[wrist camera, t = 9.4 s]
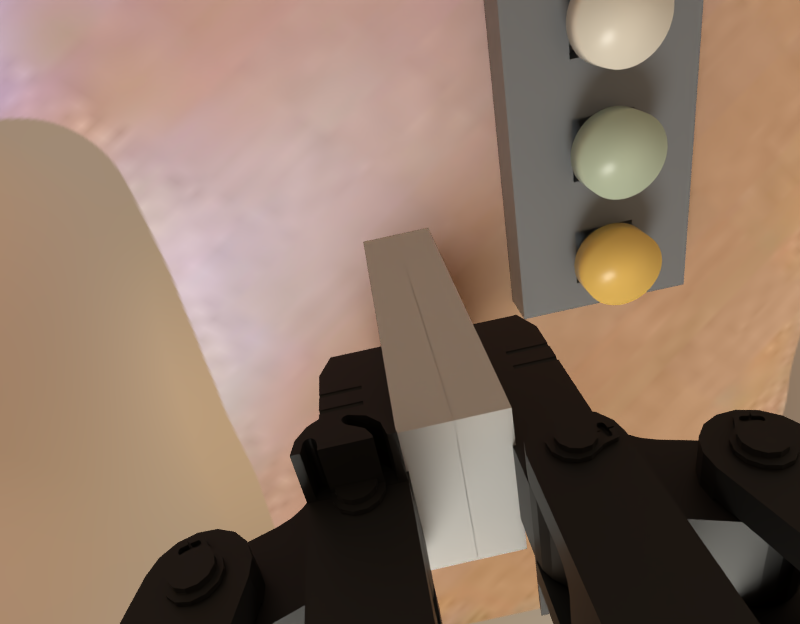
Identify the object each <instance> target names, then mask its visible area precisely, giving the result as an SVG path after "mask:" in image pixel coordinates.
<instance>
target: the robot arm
mask: <svg viewBox="0 0 800 624" xmlns="http://www.w3.org/2000/svg"><path fill="white" fill-rule="evenodd" d="M363 243H364V249H365V255H366V260H367V266H368V272H369V278H370V284H371V290H372V295H373V301H374V307H375V313H376V319H377V325H378V331H379V336H380V342H381V347H377V348H372V349H368V350H363V351H359V352H354V353H349V354H345V355H340V356H336V357H331V358H330V359H329V361H328V363H327V364H326V366H325V368H324V369H323V371H322V373H321V374H320V376H319V396H320V399H319V412H320V415H319V419H318V420H317V421H315V422H314V423H312V424H311V425H309V426H308V427H306V428H305V430H304V431H303V432H302V433H301V434H300V435H299V437H298V438H297V439H296V440H295V442H294V445H293V448H292V451H291V454H290V458H291V461H292V463H293V466H294V469H295V472H296V474H297V477H298V480H299V482H300V485H301V488H302V490H303V493H304V496H305V498H306V501H307V503H306V505H305V506H304V507H303V509H301V510H300V511H299V512H298V513H297V514H296V515H295V516H294V517H292V518H291V519H290V520H288V521H287V522H285V523H283V524H282V525H280V526H278V527H277V528H275V529H273V530H271V531H269V532H267V533H265V534H263V535H261V536H259V537H257V538H255V539H253V540H251V541H249V542H247V541H246V540H245V539H243V538H242V537H241V536H240V535H238V534H237V533H236V532H232V531H226V530H220V529H215V530H210V531H205V532H200V533H197V534H195V535H193V536H191V537H188V538H187V539H184V540H182V541H180V542H178V543H177V544H176V545H174V546H173V547H172V548H171V549H170V550H168V551H167V552H166V553H165V554H163V555H162V556H161V557H160V558H159V559H158V560H157V562H156V563H155V564H154V566H153V567H152V569H151V570H150V571H149V572H148V574H147V575H146V577H145V578H144V580H143V582H142V584H141V586H140V588H139V589H138V591H137V593H136V595H135V597H134V598H133V601H132V602H131V604H130V606H129V608H128V609H127V611H126V613H125V615H124V617H123V619H122V621H121V622H120V624H442V620H441V615H440V609H439V605H438V600H437V596H436V592H435V588H434V584H433V579H432V573H431V570H434V569H439V568H443V567H448V566H452V565H457V564H461V563H465V562H470V561H474V560H479V559H483V558H487V557H492V556H496V555H501V554H505V553H510V552H514V551H518V550H523V549H527V544H526V535H525V531H526V534H527V536H528V539H529V542H530V544H531V547H532V549H533V552H534V555H535V560H536V571H537V581H538V591H539V601H540V608H541V615H546V614H549V613H550V616H551V619H552V621H553V624H800V424H799V423H797V422H795V421H793V420H791V419H788V418H786V417H784V416H782V415H777V414H773V413H769V412H764V411H760V410H733V411H729V412H726V413H722V414H718V415H716V416H714V417H713V418H711V419H710V420H709V421H707V422H706V423H705V424H704V425H703V427H702V430H701V433H700V435H699V440H698V441H692V440H656V439H646V438H639V437H635V436H631V435H628V434H627V433H626V431H625V430H624V429H623V428H621V427H620V426H619V425H618V424H617V423H616V422H615V421H614V420H612V419H610V418H608V417H606V416H604V415H601V414H599V413H597V412H592V410H591V409H590V407H589V406H588V404H587V403H586V401H585V400H584V398H583V397H582V395H581V393H580V392H579V390H578V389H577V387H576V386H575V384H574V383H573V381H572V380H571V378H570V377H569V375H568V374H567V372H566V371H565V369H564V368H563V366H562V365H561V363H560V361H559V360H557V359H556V355H555V354H554V352H553V351H552V349H551V348H550V346H548V345H547V342H546V340H545V339H544V337H543V336H542V334H541V333H540V331H539V329H538V328H537V326H535V325H533V324H531V323H530V322H528V321H526V320H524V319H523V318H521V317H519V316H518V315H514V316H509V317H505V318H500V319H495V320H491V321H486V322H482V323H477V324H473V323H472V321H471V319H470V317H469V315H468V313H467V311H466V308H465V306H464V304H463V302H462V300H461V298H460V295H459V293H458V291H457V289H456V287H455V285H454V283H453V280H452V278H451V276H450V274H449V272H448V270H447V267H446V265H445V263H444V261H443V259H442V257H441V255H440V252H439V250H438V248H437V246H436V244H435V242H434V240H433V237H432V235H431V233H430V231H429V229H428V228H425V229H421V230H416V231H412V232H407V233H402V234H398V235H393V236H388V237H384V238H379V239H375V240H370V241H365V242H363Z"/></svg>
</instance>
